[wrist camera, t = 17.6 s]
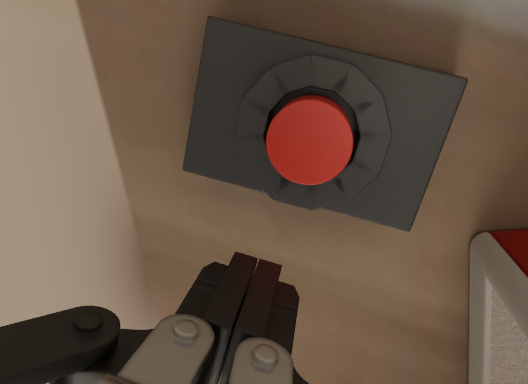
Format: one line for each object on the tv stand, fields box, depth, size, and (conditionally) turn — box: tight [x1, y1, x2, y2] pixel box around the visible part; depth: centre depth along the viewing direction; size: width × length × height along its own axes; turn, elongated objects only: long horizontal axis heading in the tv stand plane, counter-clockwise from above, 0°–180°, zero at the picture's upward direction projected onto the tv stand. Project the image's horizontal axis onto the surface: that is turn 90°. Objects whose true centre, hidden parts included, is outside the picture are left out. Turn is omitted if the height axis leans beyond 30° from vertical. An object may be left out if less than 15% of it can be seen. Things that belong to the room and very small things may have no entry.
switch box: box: [183, 16, 468, 231], centre depth 19 cm, size 11×7×4 cm, turn 77°
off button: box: [266, 95, 353, 185], centre depth 16 cm, size 3×3×2 cm
